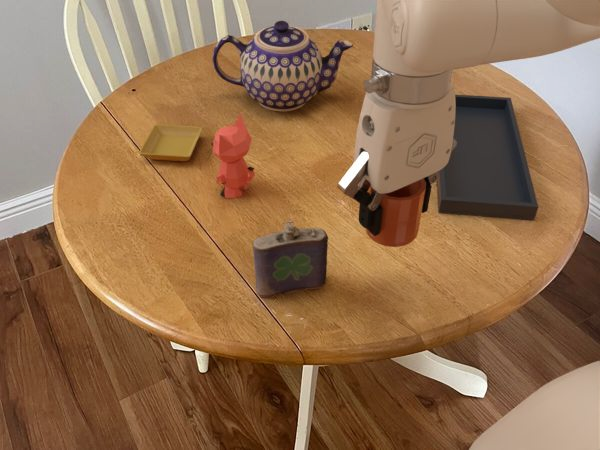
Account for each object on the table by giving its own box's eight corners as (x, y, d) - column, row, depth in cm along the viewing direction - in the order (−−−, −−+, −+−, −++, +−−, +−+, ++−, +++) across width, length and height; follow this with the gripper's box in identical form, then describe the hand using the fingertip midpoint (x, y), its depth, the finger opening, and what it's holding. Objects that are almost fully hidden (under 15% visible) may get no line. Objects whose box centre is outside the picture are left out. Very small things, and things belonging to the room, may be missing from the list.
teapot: (209, 116, 105) (199, 38, 95) (224, 75, 116) (217, 1, 106) (348, 122, 103) (353, 44, 93) (351, 80, 114) (355, 5, 104)
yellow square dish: (140, 163, 95) (137, 153, 94) (156, 133, 101) (154, 123, 100) (191, 167, 94) (190, 157, 93) (205, 136, 101) (203, 126, 99)
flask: (258, 300, 74) (253, 240, 67) (254, 283, 76) (249, 223, 69) (328, 287, 76) (331, 227, 68) (322, 271, 78) (324, 211, 70)
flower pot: (429, 233, 68) (437, 187, 64) (387, 254, 66) (393, 207, 61) (395, 205, 72) (400, 159, 68) (354, 223, 70) (357, 177, 65)
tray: (533, 220, 85) (538, 206, 83) (438, 212, 86) (441, 199, 84) (507, 110, 106) (510, 97, 104) (431, 105, 107) (433, 93, 106)
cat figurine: (229, 170, 94) (221, 106, 85) (267, 181, 92) (263, 116, 83) (206, 197, 89) (195, 131, 81) (245, 209, 87) (239, 142, 79)
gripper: (362, 121, 50) (352, 266, 62) (504, 67, 57) (470, 207, 69) (313, 85, 55) (313, 226, 67) (450, 39, 62) (427, 175, 74)
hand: (393, 215), depth 68 cm, fingers closed on flower pot, 6 cm apart
